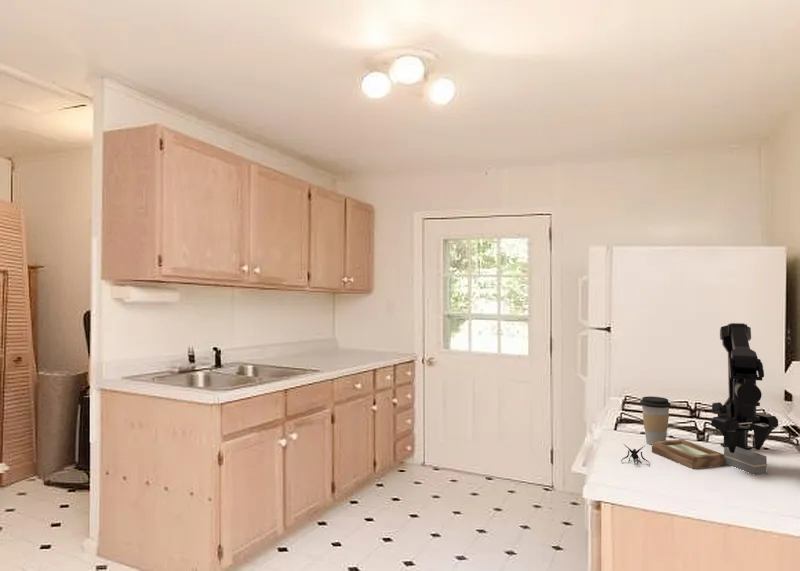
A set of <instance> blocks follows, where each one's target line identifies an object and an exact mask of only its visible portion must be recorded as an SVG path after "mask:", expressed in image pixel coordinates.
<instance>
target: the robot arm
mask: <svg viewBox="0 0 800 571" xmlns="http://www.w3.org/2000/svg"><path fill="white" fill-rule="evenodd" d="M719 339H720V341H721V344H722V346H723V348H724V349H725V351H726V353H727V372H728V373H727V375H728V376H727V377H728V378H727V380H728V382H727V383H728V384H727V386H728V398H727V399H726V400H725V402H724V403H723V404H722V402H713V403H712V407H711V410H712V414H714V415H717V416H713V417H712V418H711V427H712V428H715V430H718V431H719V432H720V433H721V434H722V436H723V443H722V442H721V443H720V446H723V447H728V448H729V451H730V452H731V453H734V452H735V449H736V446H737V447H740V448H743V449H746V450H752V449H753V447H752V446H749V444H748V443H749V441H748V439H749V437H748V434H749V433H748V431H749V432H752V431H753V442H754V449H755V450H756V451H760V450H761V449H762V446H763V445H764V444H765V442H766V440H767V439H768V437H769V436H770V435H771V433H772V432H773V430H776V427H779V419H778V418H777V416H776V415H772V414H767V413H764V412H758V413H757V407H760V406H761V405H760V404H761V402H760V401H761V400H762V399H761V398H762V395H763V394H762V390H761V389H760V388H759V387H758V386H757V381H763V378H764V377H765V373H764V372H765V370H764V365H763V362H762V361H761V359H760V358H758V355H757V352H756V351H755V350H754V349H751V347H750V343H749V341H751V340H752V330H751V327H750V326H748V324H746V323H745V322H744V323H741V322H739V323H737V322H733V323H728V324H727V325H723V326H721V327H720V328H719Z"/></svg>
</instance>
